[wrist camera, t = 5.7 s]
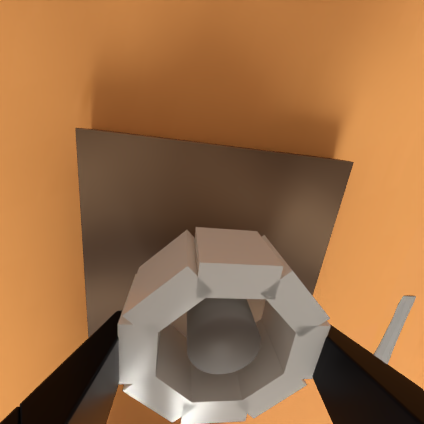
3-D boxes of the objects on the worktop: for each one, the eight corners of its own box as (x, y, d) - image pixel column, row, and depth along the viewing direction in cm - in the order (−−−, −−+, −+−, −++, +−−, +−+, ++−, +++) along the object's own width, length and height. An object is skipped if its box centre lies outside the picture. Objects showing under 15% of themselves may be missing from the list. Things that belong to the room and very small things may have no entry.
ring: (274, 358, 11) (298, 418, 8) (134, 360, 10) (118, 428, 8) (307, 234, 9) (351, 269, 6) (136, 222, 8) (116, 258, 6)
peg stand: (284, 336, 16) (339, 450, 10) (99, 335, 14) (40, 473, 8) (333, 158, 12) (467, 180, 6) (90, 128, 10) (-28, 121, 5)
